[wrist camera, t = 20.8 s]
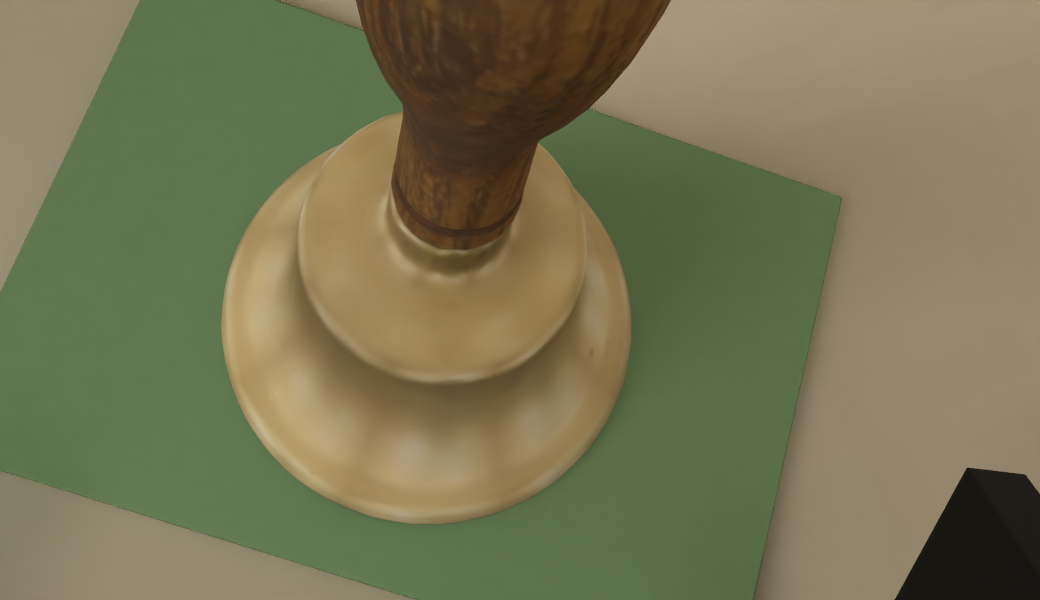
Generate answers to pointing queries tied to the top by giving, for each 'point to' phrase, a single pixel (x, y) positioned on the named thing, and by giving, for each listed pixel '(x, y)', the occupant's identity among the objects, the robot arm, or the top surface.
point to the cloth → (203, 372)
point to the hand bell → (442, 270)
